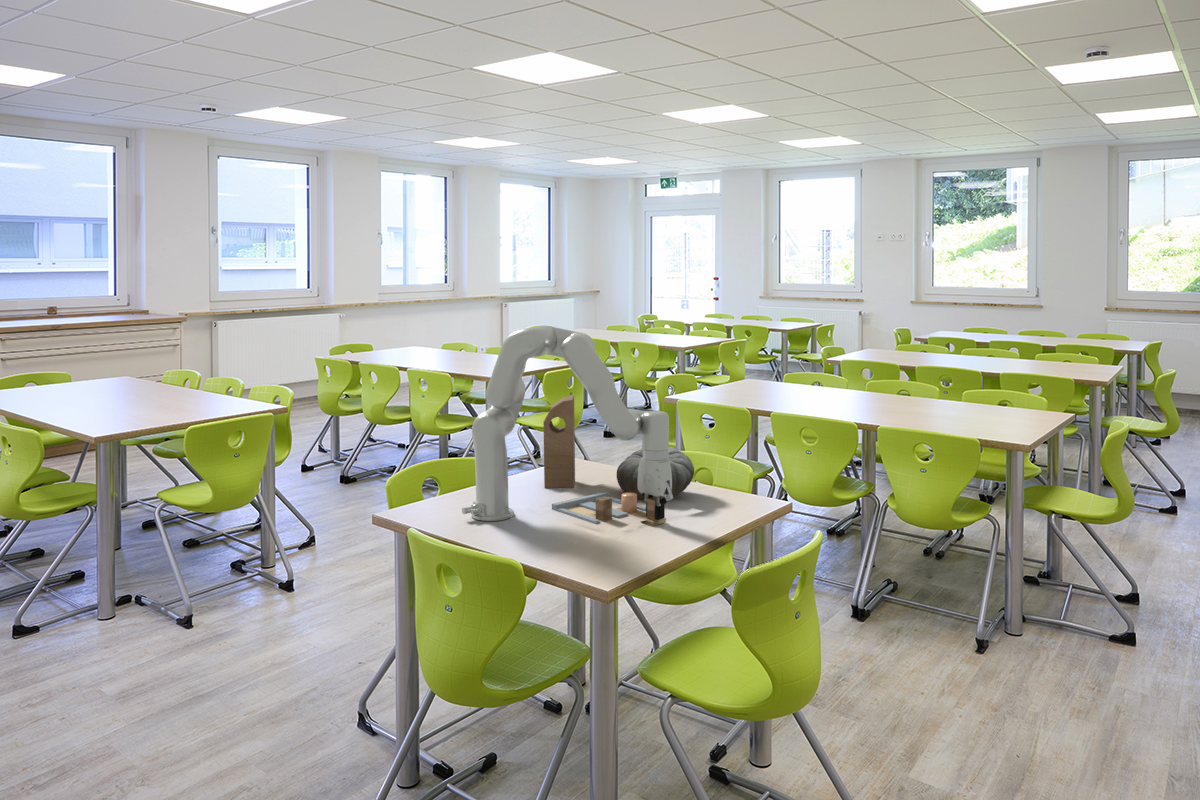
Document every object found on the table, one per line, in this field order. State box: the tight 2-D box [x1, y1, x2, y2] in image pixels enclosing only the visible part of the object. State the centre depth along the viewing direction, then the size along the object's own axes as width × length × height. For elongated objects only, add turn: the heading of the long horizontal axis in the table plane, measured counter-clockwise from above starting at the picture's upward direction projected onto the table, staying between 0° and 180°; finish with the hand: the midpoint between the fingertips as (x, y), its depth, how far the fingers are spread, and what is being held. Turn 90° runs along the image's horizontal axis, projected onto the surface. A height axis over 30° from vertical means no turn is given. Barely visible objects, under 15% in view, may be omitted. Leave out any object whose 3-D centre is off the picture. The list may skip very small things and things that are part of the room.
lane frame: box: [551, 491, 646, 525], centre depth 254 cm, size 21×20×3 cm
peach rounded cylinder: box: [621, 492, 638, 513], centre depth 252 cm, size 5×5×5 cm
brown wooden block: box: [587, 497, 614, 523], centre depth 245 cm, size 5×7×7 cm
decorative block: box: [542, 395, 576, 489], centre depth 287 cm, size 10×10×30 cm
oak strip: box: [616, 497, 666, 527], centre depth 249 cm, size 5×17×7 cm, turn 41°
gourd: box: [616, 446, 695, 500], centre depth 272 cm, size 25×25×17 cm
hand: (655, 516), depth 244 cm, fingers closed on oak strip, 3 cm apart
